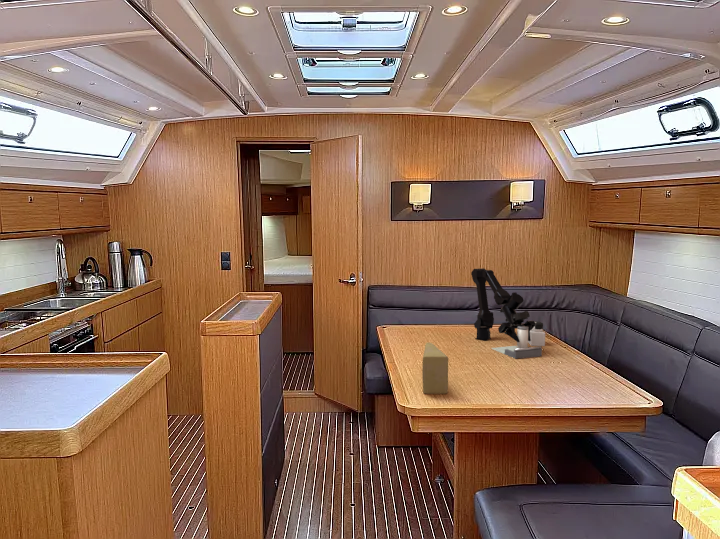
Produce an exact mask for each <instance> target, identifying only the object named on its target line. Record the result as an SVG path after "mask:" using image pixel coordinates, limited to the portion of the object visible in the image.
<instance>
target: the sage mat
mask: <svg viewBox="0 0 720 539" xmlns="http://www.w3.org/2000/svg"><path fill="white" fill-rule="evenodd" d="M490 349H491V350H494V351H496V352H498V353H501V354H503V355H505V349H508V350H511V351H513V352H514V349H517V345H508V346H499V347H491V348H490Z"/></svg>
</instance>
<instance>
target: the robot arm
mask: <svg viewBox="0 0 720 539" xmlns="http://www.w3.org/2000/svg"><path fill="white" fill-rule="evenodd" d="M470 273H471V274H470V275H471V278H472V281H473V283H474V284H475V286H476V293H477V300H478V301H477V302H478V309H479V311H478V313H477V315H476V316H477V319H476V321H475V322H474V324H473V326H474V328H475V329H476V337H475V338H474V339H475V340H481V341H489V340H491V329H493V326H494V322H495V318H494V312H493V311H492V312H491V310H490V308H489V302H488V301H489V300H488V293H487V287H486V283H487V284H488V285H489V287H490V289H491V291H492V292H493V299H494V301H495V303H496V304H497V306H502V307H500V310H499V313H502V314H504V316H505V322H502V323H501V324H500V325H499V326H498V328H497V330H498V332H499V334H505V335H507V336H509V337H510V338H512V340H514V341H515V342H516V343H517V342H519V338H518V336H517V332H516V330H517V329H518V326H527V327H528V341H530V340H531V339H530V330H532V329H533V327H534V326H535V325H536V323H535V320H533V319H532V320H528V318H530V312H529V311H528V310H525V311H523V312H517V310H518V309H519V307H520V306H521V305H522V304H523V302H524V297H523V296H522V295H520V294H518V293H517V292H516V291H515V292H512V293H511V294H510V293H509V292H508V291H507V290H506V289H504V288H503V287H502V285H501V283H500V282H499V281H498V279H497V277H496V275H495V272H494V270H492V269H486V268H485V267H484V268H474V269H472V271H471V272H470ZM525 320H526V321H525Z"/></svg>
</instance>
